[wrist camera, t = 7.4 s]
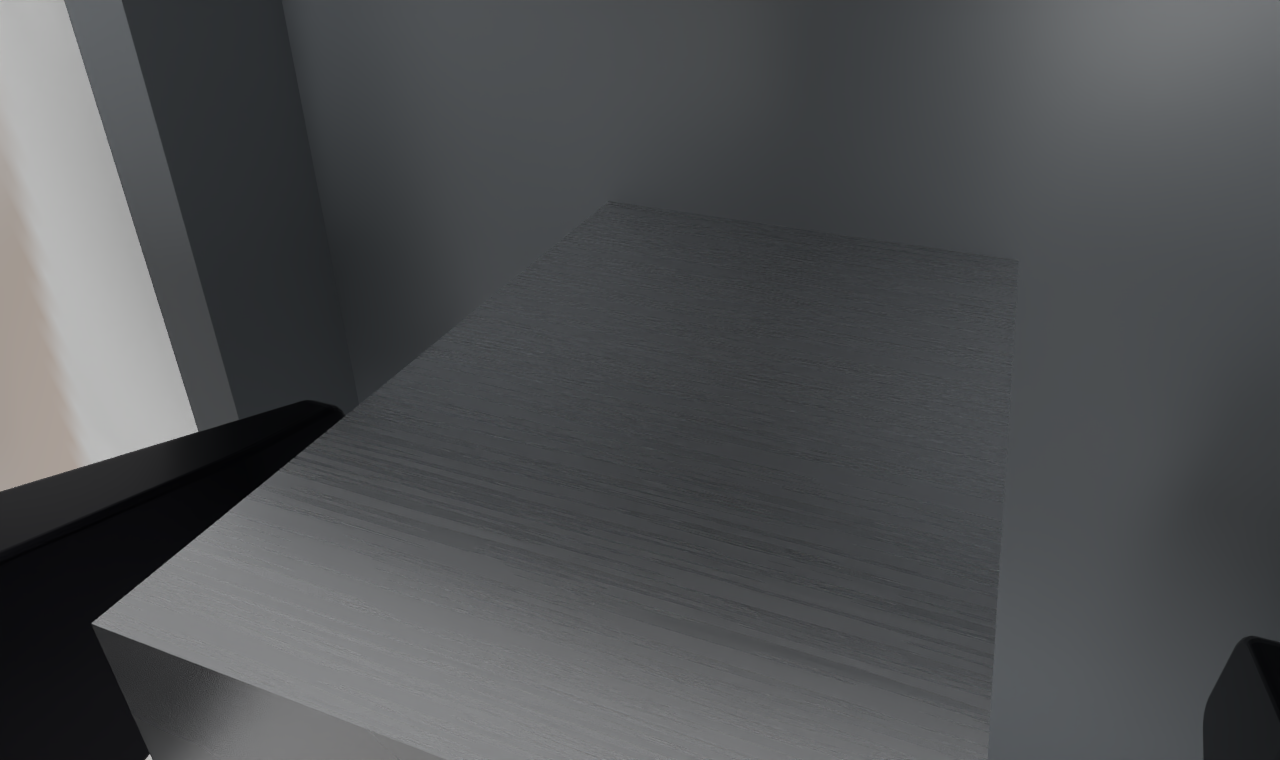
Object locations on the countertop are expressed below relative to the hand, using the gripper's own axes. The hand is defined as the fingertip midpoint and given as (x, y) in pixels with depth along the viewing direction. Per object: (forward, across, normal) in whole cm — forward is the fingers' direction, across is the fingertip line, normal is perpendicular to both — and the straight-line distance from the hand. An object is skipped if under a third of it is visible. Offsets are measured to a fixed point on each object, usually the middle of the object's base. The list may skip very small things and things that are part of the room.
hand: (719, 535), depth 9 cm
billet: (+2, 0, 0) cm, 3 cm away
